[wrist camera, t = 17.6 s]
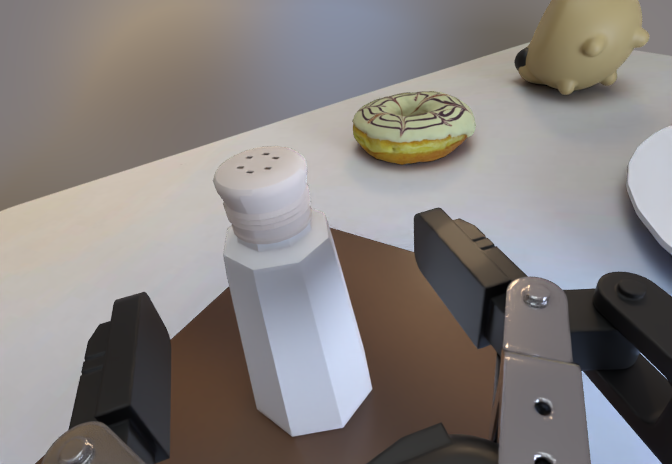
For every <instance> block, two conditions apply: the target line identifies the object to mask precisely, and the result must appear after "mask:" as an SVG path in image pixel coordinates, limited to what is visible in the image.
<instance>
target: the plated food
mask: <svg viewBox="0 0 672 464" xmlns="http://www.w3.org/2000/svg"><path fill="white" fill-rule="evenodd" d="M626 189H627V191H628V194H629V197H630V199H631V202H632V204H633V207H634V209H635V212H636V214H637V215H638V217H639V218H640V219H641V221H642V222H643V223H644V225H645V226H646V227H647V228H648V230H649V231H650V232H651V234H652V235H653V236H654V237H655V239H656V240H657V241H658V243H659V244H660V245H661V246H662V247H663V248H664V249H666V250H667V251H668V252H669V253H670V254H671V255H672V125H671V126H669V127H666V128H664V129H662V130H659V131H657V132H656V133H654V134H653V135H652V136H650V137H649V138H648V139H647V140H645V141H644V142H643V143H641V144H640V145H639V146H638V148H637V150H636V151H635V153H634V155H633V156H632V158H631V160H630V162H629V164H628V167H627V185H626Z"/></svg>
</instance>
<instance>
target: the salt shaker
mask: <svg viewBox="0 0 672 464" xmlns="http://www.w3.org/2000/svg"><path fill="white" fill-rule="evenodd" d="M306 179H307V163H306V159H305V158H304V157H303V156H302V155H301V154H300V153H299V152H297V151H295V150H293V149H290V148H287V147H278V146H270V147H259V148H254V149H250V150H246V151H244V152H241V153H239V154H237V155H234V156H233V157H231V158H229V159H227V160H226V161H225V162H224V163H222V164H221V165H220V166H219V168H218V169H217V170H216V172H215V175H214V179H213V182H214V185H215V188H216V190H217V192H218V194H219V195H220V197H221V198H222V199H223V201H224V203H223V205H224V208H225V211H226V214H227V217H228V220H229V221H230V222H231V223H232V226H231V227H229V228H228V229H227V234H226V241H225V247H224V254H223V255H224V262H225V268H226V274H227V279H228V283H229V287H230V292H231V296H232V301H233V305H234V310H235V314H236V319H237V323H238V327H239V332H240V336H241V341H242V345H243V350H244V354H245V358H246V363H247V367H248V372H249V376H250V381H251V385H252V389H253V394H254V398H255V403H256V407H257V410H259V411H260V412H261V413H262V414H264V415H265V416H266V417H268V418H269V419H270V420H271V421H273V422H274V423H275V424H277V425H278V426H279V427H280V428H282V429H283V430H284V431H285V432H287V433H288V434H289V435H291V436H292V437H293V436H299V435H305V434H310V433H316V432H322V431H327V430H333V429H339V428H343V427H344V426H345V425H346V423H347V422H348V421H349V419H350V418H351V417H352V415H353V414H354V413H355V411H356V410H357V409H358V407H359V406H360V405H361V403H362V402H363V401H364V400H365V398H366V397H367V396H368V394H369V393H370V392H371V390H372V385H371V380H370V375H369V370H368V365H367V361H366V356H365V351H364V347H363V344H362V340H361V337H360V333H359V330H358V326H357V322H356V319H355V315H354V312H353V308H352V305H351V301H350V298H349V294H348V290H347V287H346V283H345V280H344V276H343V273H342V269H341V266H340V262H339V259H338V255H337V251H336V248H335V244H334V241H333V237H332V234H331V230H330V227H329V224H328V221H327V219H326V216H325V213H323V212H321V211H318V210H315V209H312V208H311V206H310V202H311V198H310V192H309V185H308V184H307V182H306Z"/></svg>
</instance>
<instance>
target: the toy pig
mask: <svg viewBox="0 0 672 464" xmlns="http://www.w3.org/2000/svg"><path fill="white" fill-rule="evenodd" d="M648 40H649V34H648V32H647V31H646V30H644V29H643V28H642V12H641V7H640V4H639V1H638V0H552V1H551V2H550V4H549V6H548V7H547V9H546V11H545V13H544V15H543V17H542V18H541V21H540V22H539V25H538V27H537V29H536V31H535V33H534V36H533V38H532V41H531V42H530V44H529V46H528V47H526V48H525V49H523V50H521V51H520V52H519V53H518V54H517V56H516V58H515V67H516V69H517V70H518V71H519V74H520V75H521V77H522V78H523V79H525V80H526V81H528V82H531V83H536V84H546V85H548V86H550V87H553V88H555V89H558V90H559V92H560V93H561V94H563V95H569V94H571V93H572V92H573V91H574V90H580V89H584V88H588V87H590V86H593V85H595V84H597V83H601V84H603V85H605V86H609V85H612V84H613V83H614V82H615V81H616V79H617V69H618V68H619V67H620V66H621V65H622V64H623V63H624V62H625V60H626V59H627V58H628V57H629V55H630V54H631V53H632V51H633V49H634V48H637V47H642V46H644V45H645V44H646V43H647V42H648Z"/></svg>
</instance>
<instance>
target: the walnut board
mask: <svg viewBox="0 0 672 464" xmlns="http://www.w3.org/2000/svg"><path fill="white" fill-rule="evenodd" d="M330 230H331V234H332V237H333V241H334V244H335V248H336V251H337V255H338V259H339V262H340V266H341V269H342V273H343V276H344V280H345V283H346V287H347V290H348V294H349V298H350V301H351V305H352V308H353V312H354V315H355V319H356V322H357V326H358V330H359V333H360V337H361V340H362V344H363V347H364V351H365V356H366V361H367V365H368V370H369V375H370V380H371V385H372V390H371V392H370V393H369V394H368V396H367V397H366V398H365V400H364V401H363V402H362V403H361V405H360V406H359V407H358V409H357V410H356V411H355V413H354V414H353V415H352V417H351V418H350V419H349V421H348V422H347V423H346V425H345V426H344V427H343V428H339V429H333V430H327V431H322V432H316V433H310V434H305V435H299V436H293V437H292V436H291V435H289V434H288V433H287V432H285V431H284V430H283V429H282V428H280V427H279V426H278V425H277V424H275V423H274V422H273V421H271V420H270V419H269V418H268V417H266V416H265V415H264V414H262V413H261V412H260V411H259V410H257V407H256V403H255V398H254V394H253V389H252V385H251V381H250V376H249V372H248V367H247V363H246V358H245V354H244V350H243V345H242V341H241V336H240V332H239V327H238V323H237V319H236V314H235V310H234V305H233V301H232V296H231V292H230V287H228V288H227V289H226V290H225V291H223V292H222V293H221V294H220V295H219V296H218V297H217V298H216V299H215V300H214V301H213V302H211V303H210V304H209V305H208V306H207V307H206V308H205V309H204V310H203V311H202V312H201V313H199V314H198V315H197V316H196V317H195V318H194V319H193V320H192V321H191V322H190V323H189V324H187V325H186V326H185V327H184V328H183V329H182V330H181V331H180V332H179V333H178V334H176V335H175V336H174V337H173V338H172V339H171V340H170V342H171V418H170V458H169V459H166V460H163V461H161V462H158V463H155V464H366V463H368V462H369V461H371V460H372V459H373V458H375V457H376V456H377V455H379V454H380V453H381V452H383V451H384V450H385V449H387V448H388V447H389V446H391V445H392V444H393V443H395V442H396V441H397V440H399V439H400V438H402V437H404V436H407V435H409V434H412V433H415V432H417V431H420V430H422V429H425V428H428V427H430V426H433V425H435V424H438V423H441V422H442V424H443V426H444V427H445V429H446V431H447V433H448V434H465V435H471V436H477V437H480V438H484V439H487V440H488V436H489V428H490V420H491V409H492V396H493V383H494V370H495V358H496V350H495V349H494V348H493V347H492V345H489V346H486V347H483V348H480V349H477V348H476V346H475V345H474V344H473V342H472V341H471V340H470V338H469V337H468V335H467V334H466V333H465V331H464V330H463V329H462V327H461V326H460V325H459V323H458V322H457V320H456V319H455V318H454V316H453V315H452V314H451V312H450V311H449V310H448V308H447V307H446V305H445V304H444V303H443V301H442V300H441V299H440V297H439V296H438V295H437V293H436V292H435V291H434V289H433V288H432V286H431V285H430V284H429V282H428V281H427V280H426V278H425V277H424V276H423V274H422V273H421V271H420V270H419V268H418V265H417V263H416V259H415V254H414V252H411V251H408V250H405V249H401V248H398V247H394V246H391V245H387V244H384V243H381V242H377V241H374V240H370V239H367V238H364V237H360V236H357V235H353V234H350V233H346V232H343V231H340V230H336V229H333V228H330ZM44 456H45V455H44ZM44 456H43V457H42V458H41V459H40V460H39V461H38V462H37V463H35V464H41V463H42V461H43V458H44Z"/></svg>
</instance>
